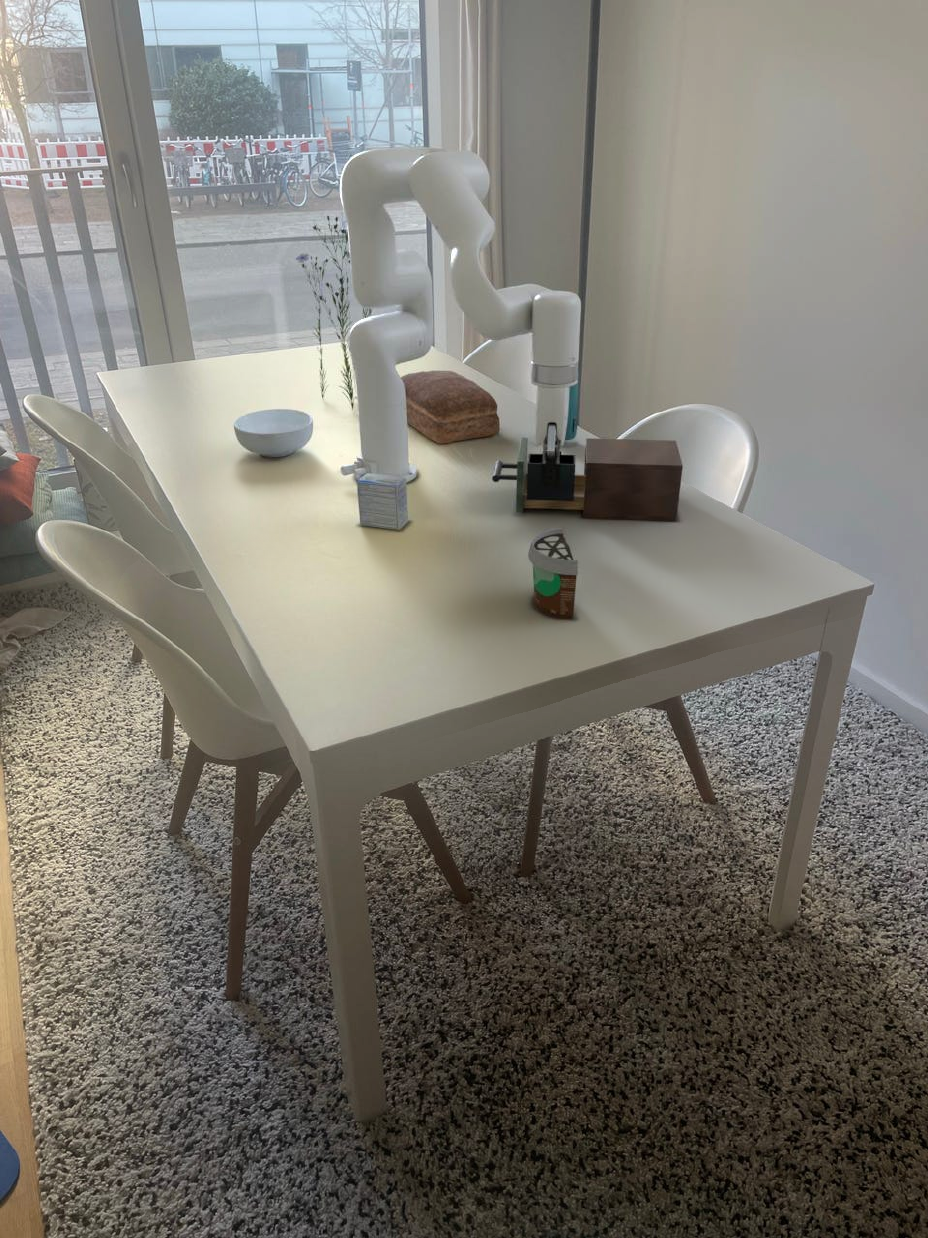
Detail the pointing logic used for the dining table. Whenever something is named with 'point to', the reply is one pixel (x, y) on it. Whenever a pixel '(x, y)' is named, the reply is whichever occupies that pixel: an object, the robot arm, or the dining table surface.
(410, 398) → the bread
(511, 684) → the dining table surface
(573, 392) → the beverage bottle
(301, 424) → the cereal bowl
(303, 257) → the wildflower
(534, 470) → the dark glass display case
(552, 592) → the food container
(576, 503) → the drawer
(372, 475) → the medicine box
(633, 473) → the cabinet
